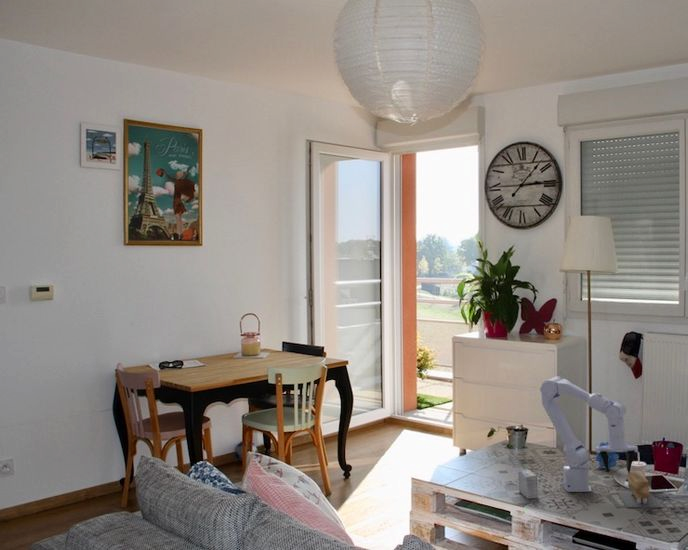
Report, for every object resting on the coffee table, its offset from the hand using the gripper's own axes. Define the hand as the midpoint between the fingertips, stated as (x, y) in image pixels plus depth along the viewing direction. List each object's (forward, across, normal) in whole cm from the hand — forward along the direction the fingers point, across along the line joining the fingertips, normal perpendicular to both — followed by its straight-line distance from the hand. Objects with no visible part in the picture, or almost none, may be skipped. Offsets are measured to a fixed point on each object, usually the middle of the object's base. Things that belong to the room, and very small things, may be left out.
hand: (617, 471), depth 276 cm
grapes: (+10, +3, +32) cm, 34 cm away
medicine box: (+10, -33, +1) cm, 34 cm away
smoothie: (+10, +9, +8) cm, 15 cm away
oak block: (+6, +6, -5) cm, 10 cm away
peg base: (+9, +6, -5) cm, 12 cm away
